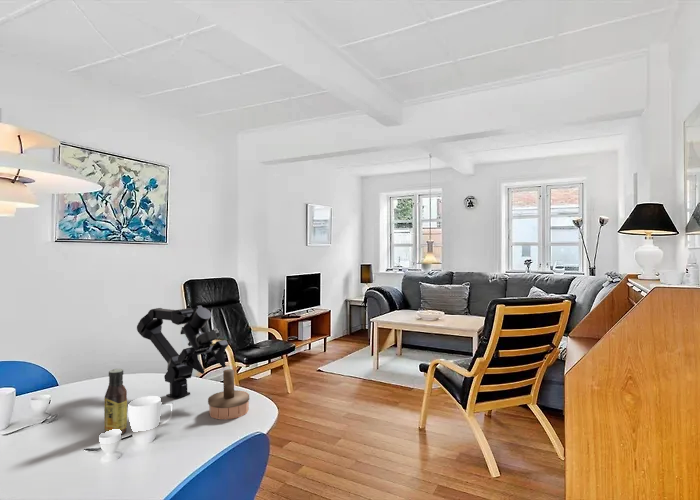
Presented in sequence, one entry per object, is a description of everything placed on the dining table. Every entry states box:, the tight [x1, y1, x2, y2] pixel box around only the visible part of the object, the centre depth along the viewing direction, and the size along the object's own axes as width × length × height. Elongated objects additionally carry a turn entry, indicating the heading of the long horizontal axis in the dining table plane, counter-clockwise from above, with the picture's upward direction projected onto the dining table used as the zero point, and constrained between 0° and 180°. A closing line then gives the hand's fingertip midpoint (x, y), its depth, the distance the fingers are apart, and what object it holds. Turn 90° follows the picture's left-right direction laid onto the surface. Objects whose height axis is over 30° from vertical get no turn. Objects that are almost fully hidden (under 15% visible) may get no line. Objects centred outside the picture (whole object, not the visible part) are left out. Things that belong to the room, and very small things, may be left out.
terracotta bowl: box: [208, 400, 250, 420], centre depth 150 cm, size 13×13×4 cm
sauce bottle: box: [103, 368, 128, 435], centre depth 134 cm, size 7×6×20 cm
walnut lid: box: [207, 368, 250, 408], centre depth 150 cm, size 14×14×10 cm
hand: (214, 370), depth 155 cm, fingers open, 9 cm apart
